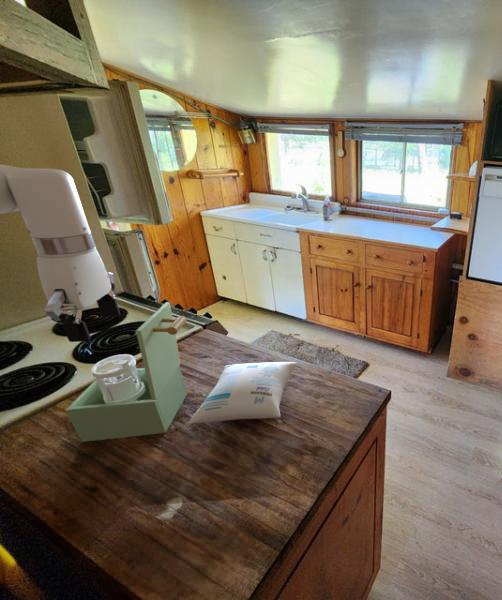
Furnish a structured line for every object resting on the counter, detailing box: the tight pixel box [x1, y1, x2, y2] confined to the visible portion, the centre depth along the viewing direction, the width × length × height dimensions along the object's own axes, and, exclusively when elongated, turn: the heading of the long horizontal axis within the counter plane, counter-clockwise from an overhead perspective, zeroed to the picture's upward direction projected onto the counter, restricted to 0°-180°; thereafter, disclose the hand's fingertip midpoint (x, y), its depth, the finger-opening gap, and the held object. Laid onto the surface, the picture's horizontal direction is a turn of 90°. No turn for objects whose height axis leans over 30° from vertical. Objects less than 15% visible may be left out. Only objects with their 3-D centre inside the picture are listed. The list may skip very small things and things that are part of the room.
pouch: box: [187, 361, 298, 424], centre depth 78 cm, size 8×19×20 cm
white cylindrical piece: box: [90, 353, 146, 404], centre depth 71 cm, size 7×7×15 cm
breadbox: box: [65, 366, 188, 443], centre depth 73 cm, size 16×13×9 cm
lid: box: [135, 301, 188, 400], centre depth 69 cm, size 16×13×5 cm
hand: (97, 327), depth 64 cm, fingers open, 9 cm apart
